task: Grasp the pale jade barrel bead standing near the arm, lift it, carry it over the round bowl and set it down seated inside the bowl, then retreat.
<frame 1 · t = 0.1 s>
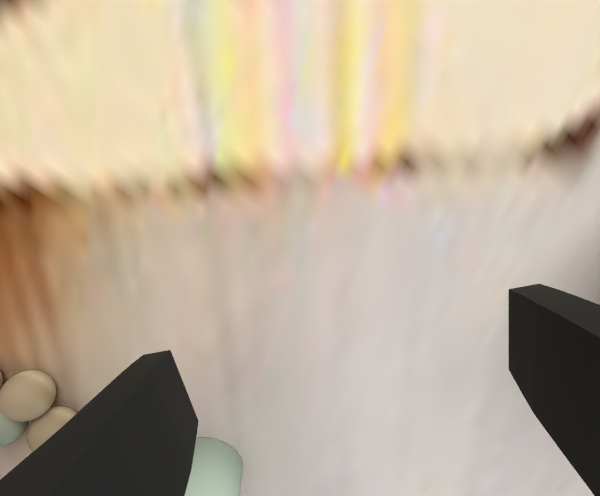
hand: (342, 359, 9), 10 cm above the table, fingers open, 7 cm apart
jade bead: (205, 465, 24), on the table
bead pile: (38, 398, 22), on the table
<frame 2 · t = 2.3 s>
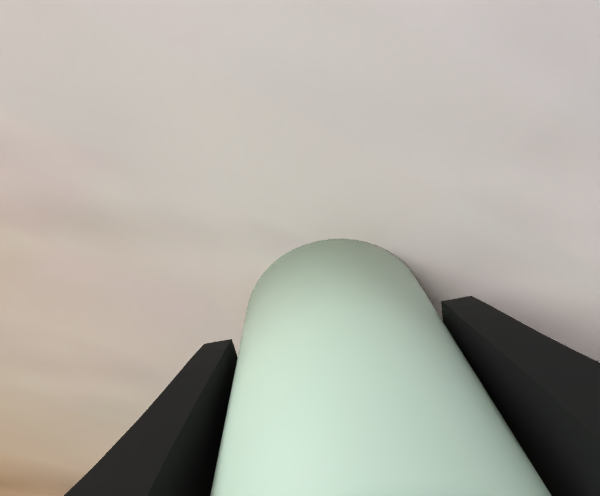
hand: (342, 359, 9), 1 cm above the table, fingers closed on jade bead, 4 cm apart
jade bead: (335, 321, 10), on the table, touching gripper
when the fingers open (3 cm above the table, at t = 5.3 s): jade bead drops 1 cm, resting on round bowl.
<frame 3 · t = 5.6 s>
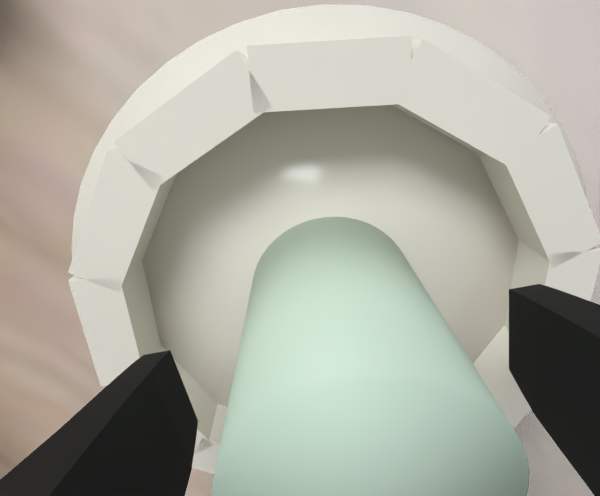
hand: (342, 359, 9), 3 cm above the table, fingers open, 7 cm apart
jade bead: (331, 292, 11), point 1 cm above the table, touching round bowl
round bowl: (329, 284, 12), on the table
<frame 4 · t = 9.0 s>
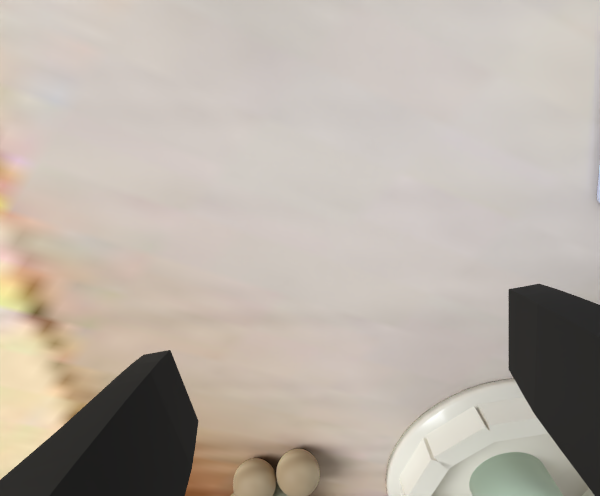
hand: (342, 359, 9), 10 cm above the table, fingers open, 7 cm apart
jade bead: (507, 479, 24), point 1 cm above the table, touching round bowl
round bowl: (502, 471, 24), on the table
bead pile: (279, 469, 24), on the table
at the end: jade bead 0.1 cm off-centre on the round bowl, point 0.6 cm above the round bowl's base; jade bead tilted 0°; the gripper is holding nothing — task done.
